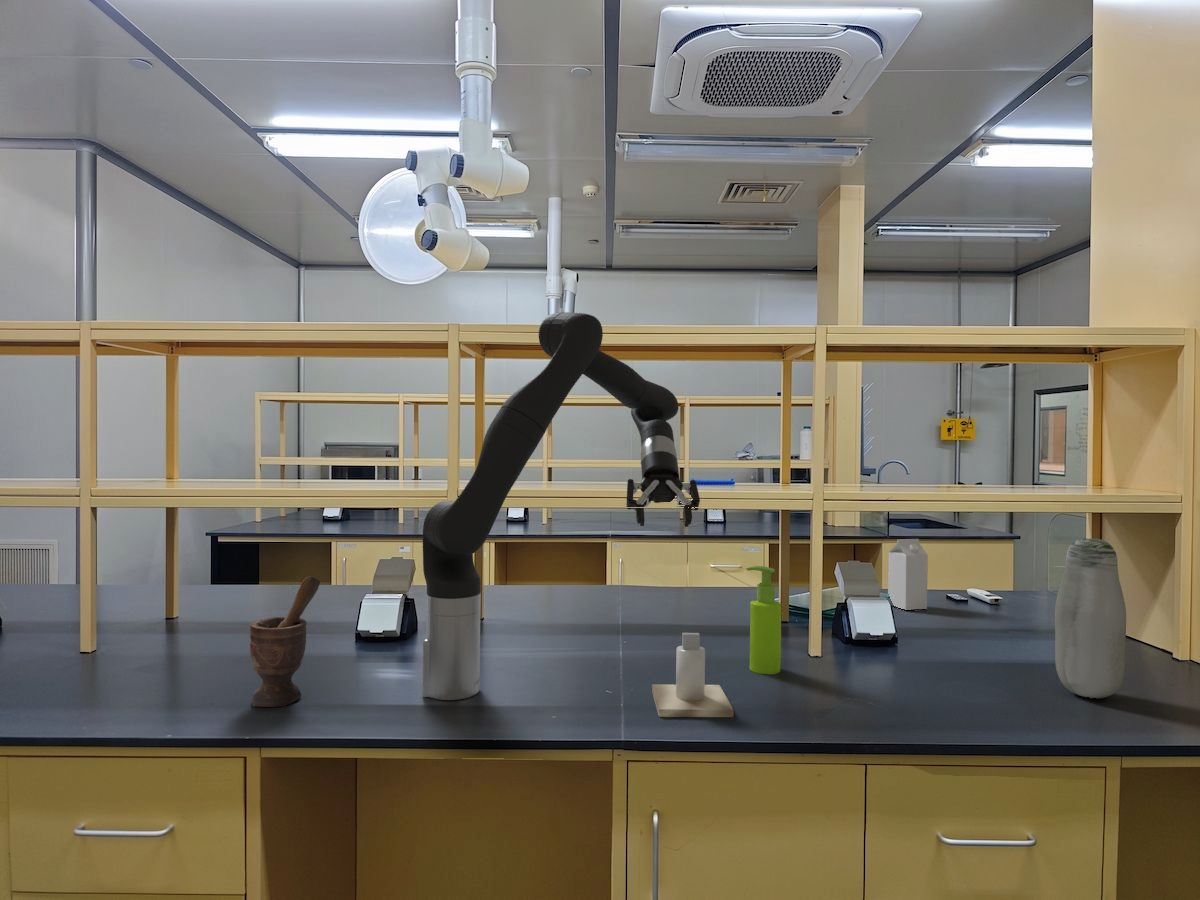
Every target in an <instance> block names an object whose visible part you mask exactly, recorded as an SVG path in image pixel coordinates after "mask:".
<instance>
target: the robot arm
mask: <svg viewBox="0 0 1200 900" xmlns="http://www.w3.org/2000/svg"><path fill="white" fill-rule="evenodd" d="M538 329H539V330H538V342H539V344H540V347H541V349H542V350H543V352H545V354H546V355H547V356H549V357H551V359H550V360H549V362H548V363H547V364H546V365H545V367H544V368H543V369H542V370H541V371H540V372H539V373H538V374H536V375H535V376H534V377H533V378H531V379H530V380H528V382H526V383H524V384H523V385H522V386H521V387H519V388H518V389H517V390H516V391H514V392H513V393H512V394H511V395H510V396H509V397H508V398H507V399H506V400H505V401H504V402H503V404H502V405H501V406H500V409H498V411H497V413H496V415H495V416H494V418H493V420H492V421H491V423H490V425H489V426H488V428H487V431H486V433H485V436H484V438H483V442H482V446H481V449H480V453H479V454H480V455H479V458H478V461H477V464H476V467H475V470H474V472H473V474H472V476H471V478H470V479H469V481H468V482H467V484H466V485H465V487H464V488H463V490H462V491H461V493H460V494H459V496H458V497H457V498H456V499H455V500H443V501H440V502H438V503H436V504H434V505H433V506H432V507H431V508H430V509H429V510H428V512H427V513H426V516H425V519H424V521H423V527H422V568H423V569H422V571H423V576H424V580H425V585H426V628H425V629H426V633H425V636H426V637H425V638H424V639H423V644H422V645H423V646H422V698H426V697H427V698H430V699H434V700H441V701H455V700H463V699H467V698H471V697H473V696H475V695H477V694H479V692H480V680H481V677H480V673H481V672H480V669H481V666H480V665H481V664H480V663H481V662H480V661H481V656H480V655H481V598H482V597H481V592H482V590H481V589H482V588H481V587H482V583H481V576H480V575H479V573H478V572H477V569H476V567H475V563H474V562H475V561H474V553H477V551H479V550H480V549H481V547H482V546H483V545H484V544H485V542H486V541H487V538H488V537H489V535H490V533H491V530H492V528H493V526H494V524H495V522H496V520H497V517H498V515H499V513H500V510H501V508H503V507H502V506H503V504H504V502H505V500H506V498H507V496H508V494H510V493H509V492H510V491H511V489H513V486H514V484H515V483H516V482H517V480H518V478H519V477H520V475H521V473H522V471H523V470H524V468H525V466H526V465H527V464H528V461H529V460H530V459H531V457H532V455H533V453H534V452H535V451H536V448H537V446H538V445H539V443H540V442H541V440H542V439H543V437H544V435H545V433H546V432H547V430H548V428H549V426H550V423H551V422H552V421H553V419H554V417H555V416H556V414H557V413H558V411H559V409H560V408H561V406H562V405H563V403H564V402H565V400H566V398H567V397H568V395H569V393H570V392H571V391H572V389H573V388H574V386H575V385H576V383H577V382H578V381H579V379H580V378H581V377H582V375H584V376H586V378H588V379H590V380H591V381H593V382H594V383H595V384H597V385H598V386H600V387H601V388H602V389H604V390H605V391H606V392H607V393H609V394H610V395H611V396H612V397H614V398H615V399H616V400H618V401H619V403H621V404H622V405H624V406H625V407H627V408H629V409H631V410H630V415H631V418H632V419H633V422H634V424H635V426H636V429H637V430H638V432H639V433H638V434H639V437H640V445H641V447H640V449H641V450H640V467H641V481H640V482H637V481H635V482H634V479H633V478H632V479H631V478H629V479H628V480H627V484H626V486H627V487H626V488H627V489H626V507H645V508H646V507H648V506H649V505H650V504H651V503H652V502H654V503H655V504H660V503H664V502H670V503H672V502H671V501H672V500H673V499H674V498H675V496H677V497H676V498H677V500H676V501H677V502H678V503H677V505H685V506H676V507H677V508H680V507H684V508H680V509H681V510H682V518H683V526H684V527H685V528H688V527H689V525H691V524H692V521H693V513H692V511H699V508H700V503H701V500H700V499H701V498H700V494H699V490H698V489H699V488H698V486H697V481H696V480H695V479H691V480H690V481H689V482H682V480H681V479H680V471H679V464H678V463H679V461H678V454H677V449H676V446H675V440H674V430H673V427H672V425H671V424H670V423H669V422H668V421H669V420H670V419H673V418H674V417H675V416H677V414H678V412H679V407H680V406H679V402H678V399H677V398H676V396H675V395H674V393H673V392H672V391H670V390H669V389H668V388H667V387H664V386H662V385H659V384H656V383H655V382H652V381H649V380H646V379H645V378H643V377H642V376H641V375H640V374H639V373H638V372H637V371H636V370H635V369H633V368H632V367H631V366H629V365H628V364H626V363H624V361H621V360H619V359H617V358H615V357H613V356H611V355H609V354H608V353H605V352H604V351H602V350H600V348H601V346H602V342H603V336H604V335H603V334H604V332H603V326H602V324H601V322H600V320H599V319H598V318H597V317H596V316H594V315H592V314H588V313H584V312H583V313H582V312H568V311H567V312H566V311H565V312H564V311H561V312H554V313H551V314H549V315H548V316H546V317H544V319H543V320H542V322H541V323H540V326H539V328H538ZM638 490H640V491H641V492H642V493H641V496H640V497H638V499H634V495H635V494H636V493H637V492H638ZM683 491H685V492H686V494H687V493H688V494H689V496H690V495H691V497H692V498H693V500H692V501H691V499H690V498H687V497H686V496H685V493H684V492H683ZM688 494H687V495H688ZM651 501H652V502H651ZM680 502H682V503H683V504H682V503H680ZM688 507H689V508H688ZM692 507H694V508H695V507H699V508H695V509H691V508H692ZM645 508H626V509H627V510H629V511H630V510H634V511H635V516H636V518H635V519H636V523H637V524H639V527H644V526H645Z"/></svg>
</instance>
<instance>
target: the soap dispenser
mask: <svg viewBox="0 0 1200 900" xmlns="http://www.w3.org/2000/svg"><path fill="white" fill-rule="evenodd" d="M745 570H746V571H758V572H761V582H760V583H758V584H757V585H756V589H757V590H756V599H754V600H751V601H750V609H749V610H750V613H749V615H750V616H749V618H750V619H749V671H751V672H753V673H756V674H761V675H777V674H779V673H781V661H782V660H781V659H782V658H781V657H782V655H781V654H782V653H781V652H782V651H781V650H782V648H781V647H782V641H781V640H782V603H781V602H779V601H776V600H775V599H776V593H775V592H776V585H775V584H773V583H772V582H771V579H772V577H771V576H772V575H771V574H772V573H775V572H776V569H775V568H773V567H768V566H761V565H758V566H757V565H755V566H750V567H746V568H745Z"/></svg>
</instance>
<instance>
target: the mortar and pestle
mask: <svg viewBox="0 0 1200 900" xmlns="http://www.w3.org/2000/svg"><path fill="white" fill-rule="evenodd" d="M320 584H321V581H320V579H319V578H317V577H314V576H311V575H308V576H306V577H305V578H304V579H303V581H302V582H301V583H300V586H299V587H298V590H297V593H296V594H295V597H294V600H293V602H292V605H291V607H290V609H289V611H288V613H287V615H286V616H280V617H279V616H277V617H276V616H275V617H274V616H273V617H267V618H262V619H259V620H255V621H253V622H251V623H249V627H250V629H249V637H250V642H249V648H250V649H249V652H250V658H251V660H252V662H253V670H254V671H255V673H256V674H257V675H258V676H259V678H260V679H261V680H262V684H261V685H260V687H259V688H256V689H255V690H254V693H253V694H252V698H251V699H252V700H251V703H252V707H260V708H261V707H263V708H264V707H265V708H275V707H277V708H278V707H282V706H283V707H284V706H288V705H289V704H292V703H295V702H297V701H298V700H299V699H300V698H301V697H302V693H301V690H300V688H299V686H298V685H297V684H296V683H294V682H293V681H292V678H293V675H294V674H295V673H296V671H298V670H299V669H300V667H301V664H302V660H303V659H304V655H305V652H306V645H307V624H308V623H307V620H306V619H304V618H301V616H302V615H303V613H304V611H305V610H306V608H307V606H308V605H309V603H310V602H311V601H312V600H313V598H314V596H315V595H316V593H317V592H318V590H319V587H320Z"/></svg>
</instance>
